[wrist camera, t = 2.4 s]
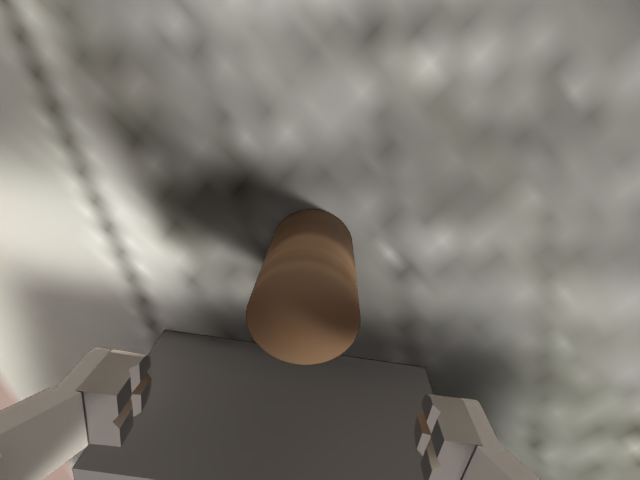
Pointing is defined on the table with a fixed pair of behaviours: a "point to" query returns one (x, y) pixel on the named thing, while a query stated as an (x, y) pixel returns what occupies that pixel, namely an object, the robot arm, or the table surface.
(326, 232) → the brown rounded cylinder
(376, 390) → the housing
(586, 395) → the table surface
